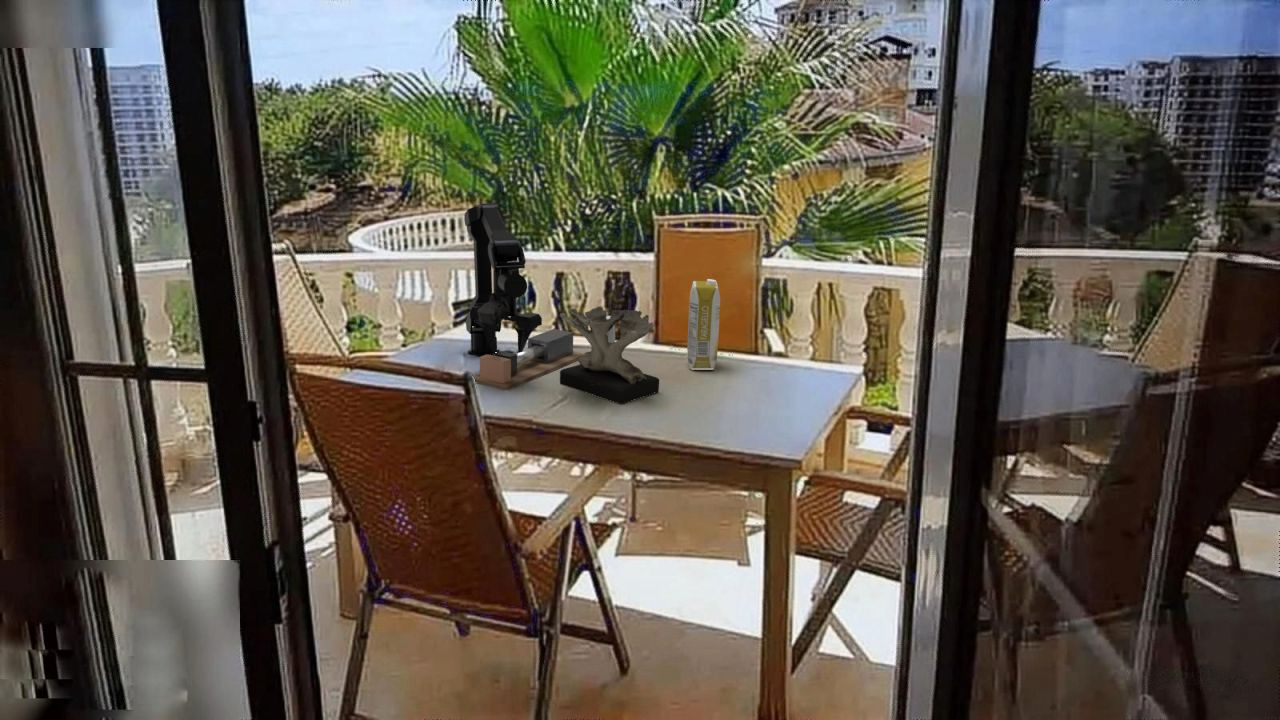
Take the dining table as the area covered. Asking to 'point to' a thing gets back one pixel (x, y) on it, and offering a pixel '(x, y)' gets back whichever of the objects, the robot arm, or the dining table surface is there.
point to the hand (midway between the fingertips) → (505, 349)
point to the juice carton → (703, 324)
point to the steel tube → (522, 356)
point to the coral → (609, 356)
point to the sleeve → (553, 345)
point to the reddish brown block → (495, 368)
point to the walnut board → (529, 372)
